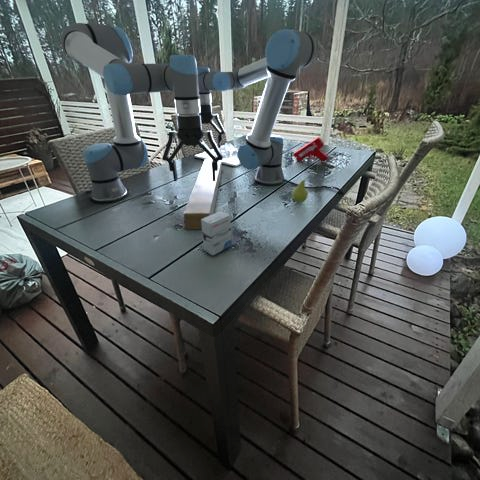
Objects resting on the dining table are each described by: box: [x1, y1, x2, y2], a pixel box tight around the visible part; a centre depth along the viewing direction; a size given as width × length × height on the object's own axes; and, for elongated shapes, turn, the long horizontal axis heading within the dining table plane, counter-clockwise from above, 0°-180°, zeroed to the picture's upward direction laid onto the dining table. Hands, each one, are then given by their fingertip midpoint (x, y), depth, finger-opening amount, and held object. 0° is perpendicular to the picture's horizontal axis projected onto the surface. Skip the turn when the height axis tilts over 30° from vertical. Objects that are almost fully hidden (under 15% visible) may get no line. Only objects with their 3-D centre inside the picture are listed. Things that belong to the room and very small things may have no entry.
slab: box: [183, 159, 223, 230], centre depth 129 cm, size 68×9×7 cm, turn 0°
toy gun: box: [293, 136, 329, 164], centre depth 170 cm, size 18×4×15 cm
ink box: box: [201, 210, 232, 257], centre depth 88 cm, size 8×5×12 cm, turn 135°
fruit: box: [291, 174, 311, 204], centre depth 118 cm, size 7×8×12 cm
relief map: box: [194, 142, 242, 167], centre depth 181 cm, size 27×35×5 cm
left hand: (195, 180), depth 96 cm, fingers open, 13 cm apart
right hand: (207, 147), depth 147 cm, fingers open, 13 cm apart
